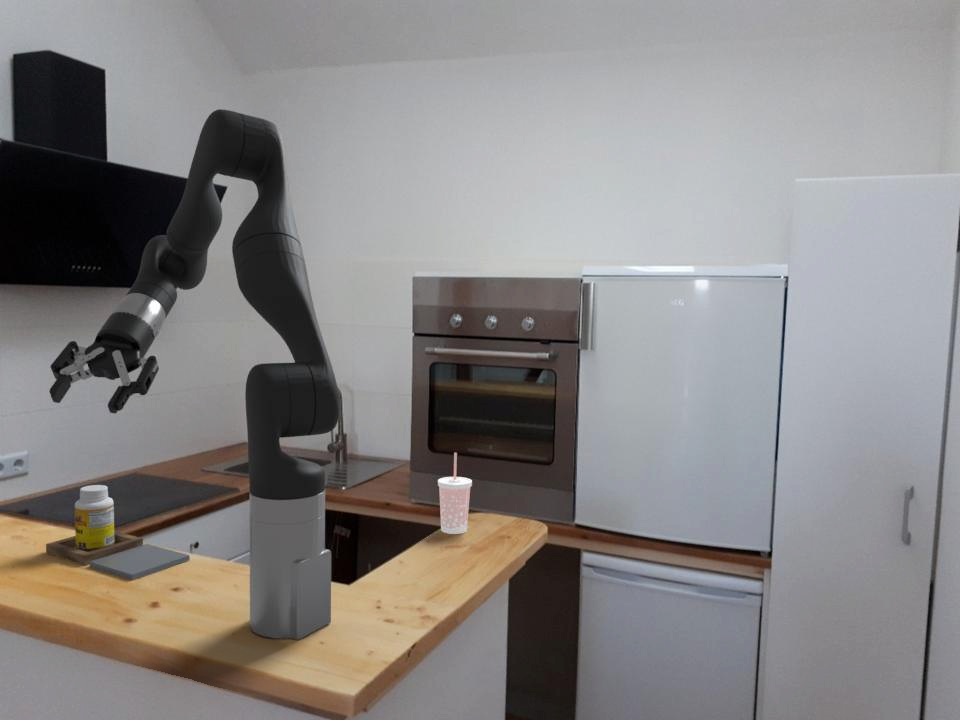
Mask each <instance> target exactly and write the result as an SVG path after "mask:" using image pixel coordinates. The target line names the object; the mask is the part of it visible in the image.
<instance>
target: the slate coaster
mask: <svg viewBox="0 0 960 720" xmlns="http://www.w3.org/2000/svg"><path fill="white" fill-rule="evenodd" d="M189 561H190V555H189V554H186V553H183V552H178V551H175V550H172V549H167V548H164V547H160V546H157V545H153V544H149V543H146V544H143V545H141V546H138V547H135V548H132V549H129V550H125V551H122V552H119V553H116V554H112V555H109V556H106V557H103V558H100V559H96V560H93V561H90V564H89V567H90V568H92V569H96V570H99V571H102V572H104V573H109V574H112V575H115V576H117V577H118V576H119V577H122V578H125V579H128V580H132V581H134V580H137V579H140V578H142V577H146V576H148V575H151V574H154V573H157V572H160V571H162V570H166V569H169V568H172V567H174V566H177V565H180V564H182V563H185V562H189Z"/></svg>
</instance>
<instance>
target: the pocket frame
mask: <svg viewBox="0 0 960 720" xmlns="http://www.w3.org/2000/svg"><path fill="white" fill-rule="evenodd" d="M141 545H144V538H143V537H138V536H136V535H131V534H127V533H123V532H120V531H116V530H114V544H113V545H110V546H107V547H103V548H100V549H97V550H93V551H90V552H86V551H82V550H79V549H76V548H75V547H76V535H74V536H70V537H66V538H62V539H59V540H56V541H51V542H48V543H45V553H46V554H47V553H48V555H50V554H52V555H51V556H53V555H55V556H54V557H57V556H58V558H60V557H61V558H60V559H63V558H64V559H63V560H66V559H67V561H69V560H70V562H72V563H76V562H77V563H76V564H79V563H80V564H79V565H82V564H83V566H88V565H89V566H90V561H93V560H96V559H100V558H103V557H106V556H109V555H112V554H116V553H119V552H122V551H125V550H129V549H132V548H135V547H138V546H141Z"/></svg>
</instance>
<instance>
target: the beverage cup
mask: <svg viewBox="0 0 960 720" xmlns="http://www.w3.org/2000/svg"><path fill="white" fill-rule="evenodd" d="M457 458H458V452H454V453H453V476H444V477H441V478H439V479H437V487H439V488H438V489H439V491H438V492H439V510H440V511H439V512H440V531H441V532H442V533H445V534H449V535H459V534H464V533H467V530H468V520H469V508H470V495H471V494H470V493H471V487H473V486H472V485H473V480H472V479H471V478H468V477H463V476H457V467H458V465H457V461H458V459H457Z"/></svg>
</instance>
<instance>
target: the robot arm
mask: <svg viewBox="0 0 960 720" xmlns="http://www.w3.org/2000/svg"><path fill="white" fill-rule="evenodd" d="M194 151H195V152H194V155H193V157H192V161H191V163H190V164H191V165H190V169H189V172H188V177H187V180H186V184H185V188H184V191H183V195H182V198H181V201H180V202H179V205H178V207H177V209H176V211H175V212H174V214H173V216H172V219H171V221H170V223H169V225H168V227H167V229H166V231H165V232H166V235H165V234H160V235H155V236H153V237H152V238H150V240H148V242H147V243H146V245H145V247H144V249H143V252H142V256H141V261H140V266H139V269H138V270H139V271H138V274H137V277H136V278H135V281H134V282H133V283H132V286H131V287H130V289H129V290H128V291H127V293H126V294H125V296H124V297H123V299H121V300H120V301H119V303H117V305H116V306H115V307H114V309H113V311H112V312H111V314H109V317H108V318H107V319H106V321H105V322H104V323H103V325H102V326H101V328H100V330H99V331H98V332H97V334H96V336H95V339H94V341H93V343H92V344H90V345H88V346H86V347H84V346H80V345H78V343H77V341H76V340H71V341H69V342H68V343H67V344H66V346H65V347H64V348H63V349H62V351H61V352H60V353H59V354H58V355H57V357H56V358H55V359H54V360H53V362H52V364H51V365H50V367H49V368H50V369H51V372H52V374H53V376H54V379H55V381H54V382H53V384H52V385H51V387H50V389H49V394H50V397H51V399H52V402H53V403H55V404H59V403H61V401H62V400H63V399H64V397H65V396H66V394H67V393H68V391H69V390H70V389H71V387H72V384H74V383H76V382H78V381H80V380H84V381H85V380H87V379H89V378H91V377H93V376H94V378H95V377H96V378H105V379H108V380H111V381H115V380H116V379H120V382H121V384H122V385H118V387H117V388H116V390H115V391H114V393H113V395H112V396H111V398H110V399H109V401H108V403H107V408H108V411H109V413H110V414H115V415H116V414H117V413H118V411H119V412H120V411H122V410H123V409H124V407H125V406H126V404H127V402H128V400H129V399H130V397H132V396H133V395H134V394H135V395H136V394H138V395H140V396H145V395H147V394H148V392H149V391H150V388H151V386H152V384H153V382H154V380H155V378H156V376H157V374H158V372H159V364H158V363H159V362H158V361H157V360H158V359H157V357H156V356H155V355H149V356H148V357H147V358H145V356H146V354H147V353H148V352H149V349H150V348H151V346H152V344H153V343H154V342H155V340H156V338H157V337H158V335H159V334H160V332H161V329H162V328H163V325H164V322H165V320H166V319H167V317H168V315H169V313H170V312H171V311H172V309H173V307H174V305H175V304H176V301H177V299H178V291H177V289H179V290H184V291H188V290H192V289H195V288H196V287H198V286H199V285H200V284H201V283H202V281H203V279H204V278H205V275H206V270H207V266H208V251H209V247H210V245H211V244H212V242H213V240H214V239H215V237H216V235H217V233H218V232H219V231H220V228H221V224H222V222H223V208H222V205H221V202H220V199H219V196H218V194H217V193H218V192H217V191H216V188H215V185H214V178H215V176H216V175H218V174H219V175H222V176H226V177H231V178H236V179H242V180H246V181H250V182H253V183H254V184H255V186H256V190H257V194H258V195H257V200H256V202H255V203H254V205H253V207H252V208H251V209H250V211H249V212H248V214H247V215H246V216H245V217H244V219H243V220H242V222H241V223H240V225H239V226H238V228H237V229H236V232H235V233H234V237H233V239H232V244H231V245H232V246H231V248H232V249H231V251H232V258H233V259H232V260H233V264H234V270H235V271H234V272H235V275H236V280H237V285H238V288H239V290H240V293H241V294H242V295H243V297H244V298H245V301H246V302H248V304H249V305H250V306H251V307H252V308H253V310H255V311H256V312H257V314H259V315H260V317H261V318H262V319H263V320H264V321H265V322H266V323H268V325H269V326H270V327H271V328H272V329H274V331H275V332H276V333H277V334H278V335H279V336H280V337H281V339H282V340H283V341H284V343H285V344H286V346H287V349H289V352H290V353H291V356H292V358H293V361H294V362H272V363H271V362H269V363H268V362H267V363H259V364H255V365H254V366H253V367H252V368H250V370H249V372H248V374H247V377H246V382H245V391H244V392H245V397H244V398H245V413H246V414H245V415H246V416H245V417H246V429H247V449H248V450H247V453H248V454H247V456H248V458H247V460H248V464H247V465H248V477H249V478H248V481H249V628H250V629H251V631H252V632H253V633H255V634H256V635H259V636H262V637H265V638H266V637H267V638H274V639H275V638H276V639H294V640H300V639H302V638H305V637H306V636H308V635H310V634H311V633H313V632H316V631H317V630H319V629H321V628H323V627H324V626H326V625H328V624H331V622H332V617H331V616H332V551H331V550H330V549H327V548H326V472H325V469H324V468H323V467H322V466H321V465H320V464H318V463H315V462H313V461H310V460H307V459H303V458H297V457H294V456H291V455H289V454H288V453H286V452H284V451H283V450H282V448H281V443H280V438H293V437H295V438H296V437H306V436H307V437H308V436H317V435H323V434H329V433H330V432H332V431H333V430H334V429H335V428H336V426H337V424H338V423H339V422H338V421H339V418H340V411H341V410H340V409H341V408H340V406H341V405H340V394H339V390H338V389H339V388H338V384H337V383H338V382H337V379H336V376H335V373H334V369H333V366H332V362H331V360H330V357H329V354H328V351H327V350H328V349H327V347H326V345H325V341H324V338H323V336H322V332H321V329H320V326H319V323H318V318H317V315H316V311H315V307H314V306H315V305H314V302H313V298H312V292H311V289H310V288H311V287H310V282H309V276H308V271H307V266H306V262H305V261H306V259H305V256H304V253H303V247H302V244H301V243H302V242H301V240H300V237H299V234H298V233H299V232H298V228H297V225H296V220H295V214H294V211H293V210H294V209H293V206H292V205H293V204H292V200H291V193H290V188H289V179H288V177H289V176H288V170H287V160H286V153H285V145H284V140H283V136H282V133H281V131H280V129H279V127H278V126H277V125H276V124H275V123H274V122H272V121H269V120H267V119H264V118H260V117H258V116H257V117H256V116H252V115H249V114H244V113H240V112H236V111H234V110H229V109H216V110H214V111H212V112H211V113H210V114H209V115H208V117H207V118H206V119H205V122H204V124H203V126H202V128H201V131H200V133H199V137H198V140H197V144H196V147H195V150H194ZM176 288H177V289H176ZM85 365H87V367H88V369H85V368H84V367H85ZM139 368H141V370H140V373H139V375H138V377H137V378H136V380H135V381H131V379H130V376H129V373H132V372H134V371H136V370H137V369H139Z"/></svg>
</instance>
